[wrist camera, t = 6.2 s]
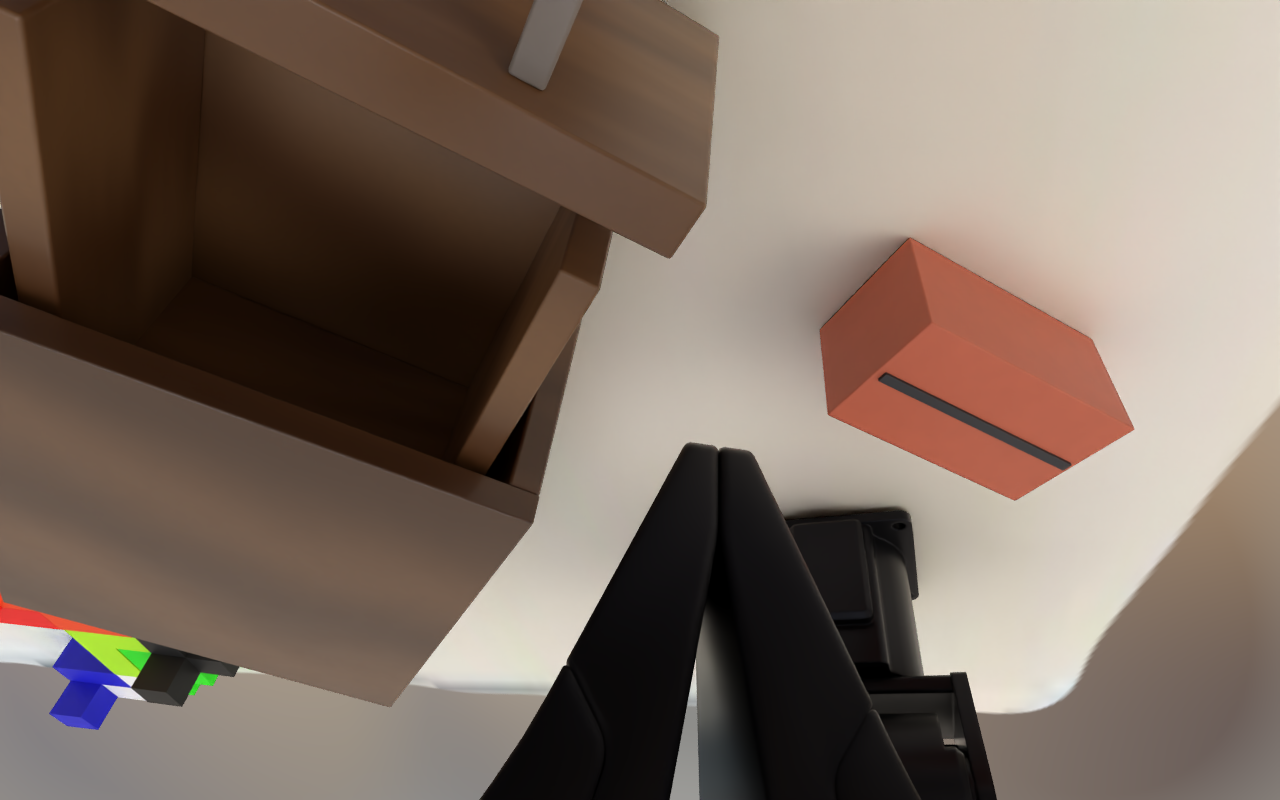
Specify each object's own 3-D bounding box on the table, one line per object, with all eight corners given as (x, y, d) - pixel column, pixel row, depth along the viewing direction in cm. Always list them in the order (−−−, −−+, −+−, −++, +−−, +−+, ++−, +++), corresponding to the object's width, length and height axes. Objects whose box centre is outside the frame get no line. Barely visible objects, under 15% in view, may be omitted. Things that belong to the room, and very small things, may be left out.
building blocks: (285, 683, 51) (256, 749, 48) (106, 662, 51) (66, 726, 48) (195, 574, 40) (150, 650, 37) (-32, 548, 40) (-94, 622, 37)
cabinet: (154, 86, 19) (-110, 292, 13) (589, 289, 23) (533, 524, 17) (153, 404, 29) (2, 602, 23) (455, 511, 32) (390, 707, 27)
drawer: (168, -737, 10) (-371, -1066, 5) (863, -212, 13) (927, -115, 8) (158, 250, 22) (0, 418, 17) (511, 395, 25) (457, 570, 20)
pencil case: (1092, 339, 22) (1136, 432, 19) (988, 414, 25) (1015, 504, 22) (909, 236, 20) (932, 324, 18) (819, 329, 23) (827, 418, 20)
